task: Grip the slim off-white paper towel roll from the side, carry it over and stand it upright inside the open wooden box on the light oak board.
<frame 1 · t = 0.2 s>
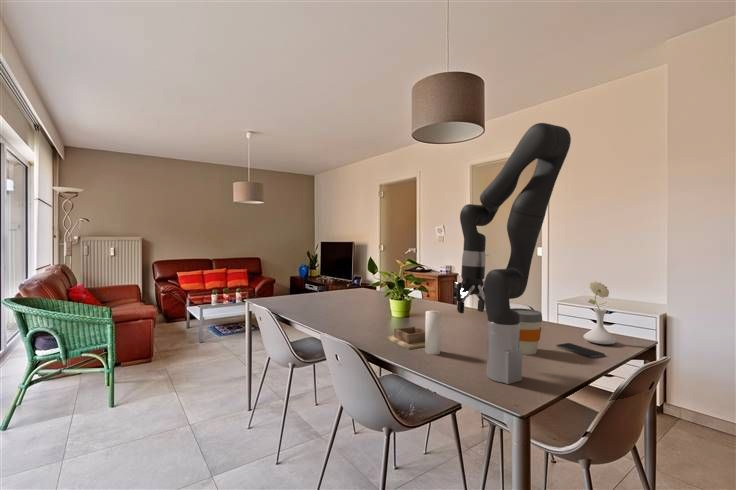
hand: (470, 312, 122), 18 cm above the table, tool pointing down, fingers open, 8 cm apart
reusable coffee cup: (523, 351, 137), on the table
open wooden box: (411, 341, 148), on the table
flower in vase: (598, 342, 150), on the table
phone: (579, 352, 137), on the table
paper towel roll: (432, 352, 134), on the table
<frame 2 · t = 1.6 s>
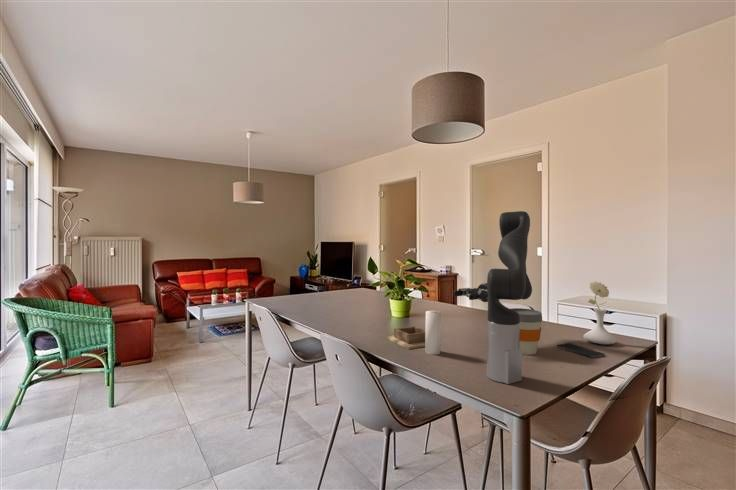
hand: (461, 295, 141), 20 cm above the table, tool horizontal, fingers open, 8 cm apart
nothing on the table moved.
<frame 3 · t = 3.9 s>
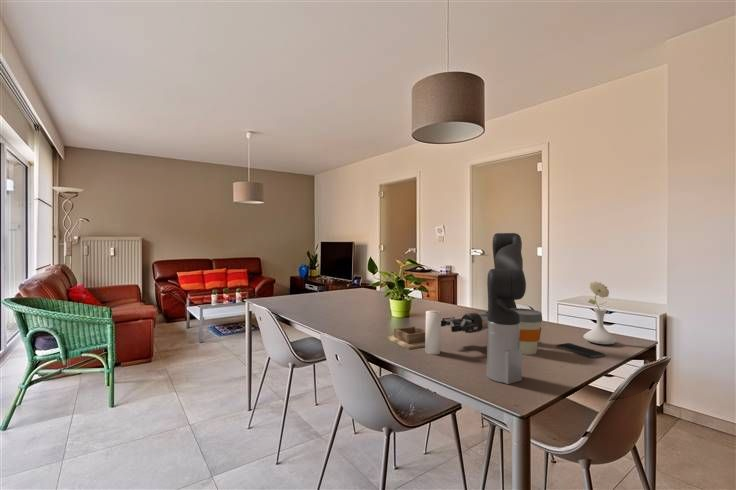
hand: (444, 326, 137), 9 cm above the table, tool horizontal, fingers open, 8 cm apart
nothing on the table moved.
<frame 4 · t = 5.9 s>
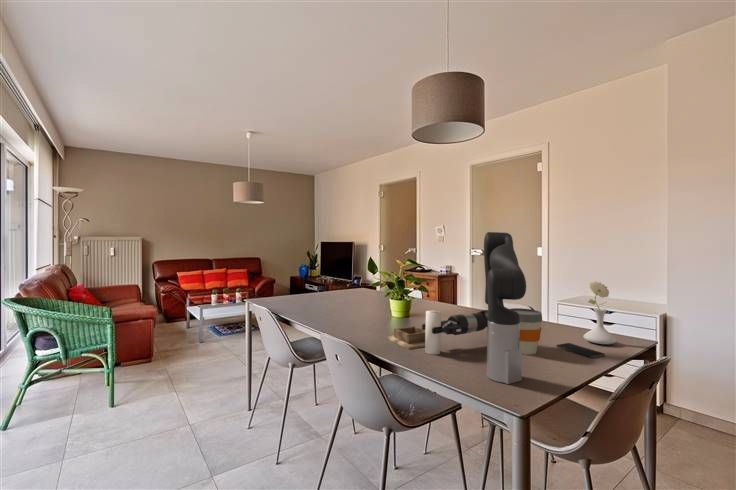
hand: (427, 328, 133), 9 cm above the table, tool horizontal, fingers closed on paper towel roll, 5 cm apart
paper towel roll: (432, 352, 134), on the table, touching gripper
everything else where it was.
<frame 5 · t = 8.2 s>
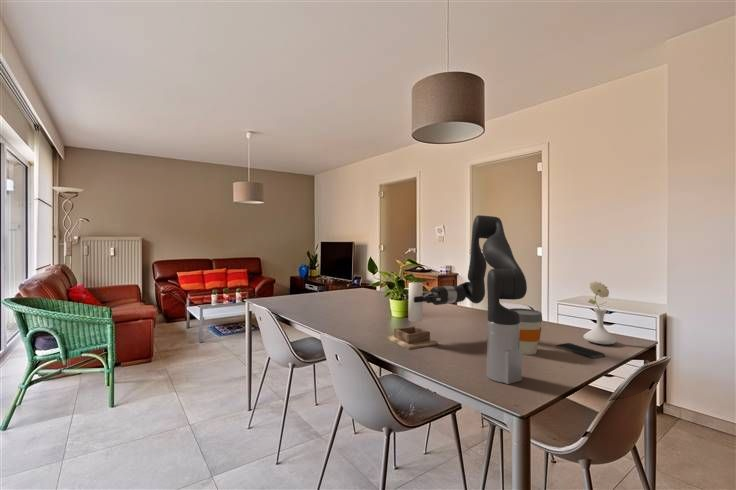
hand: (410, 298, 145), 18 cm above the table, tool horizontal, fingers closed on paper towel roll, 5 cm apart
paper towel roll: (415, 320, 147), point 9 cm above the table, touching gripper
everything else where it was.
when the fingers open (11 cm above the table, at t = 10.4 s): paper towel roll drops 1 cm, resting on open wooden box.
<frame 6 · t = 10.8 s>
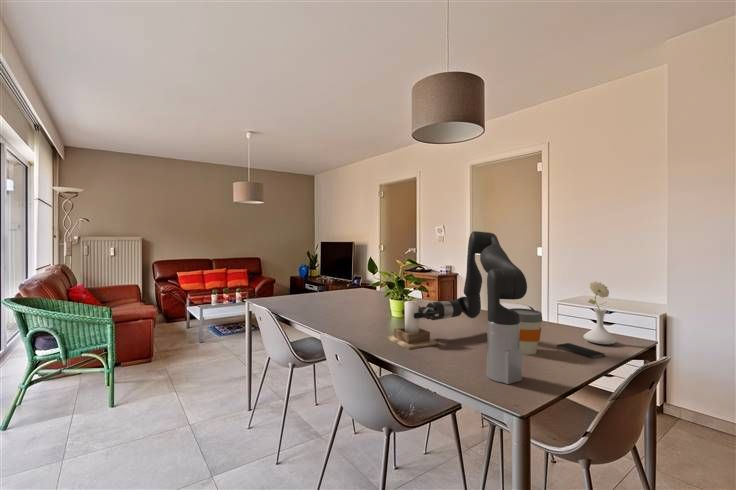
hand: (408, 313, 147), 11 cm above the table, tool horizontal, fingers open, 8 cm apart
paper towel roll: (412, 338, 148), point 1 cm above the table, touching open wooden box
everything else where it was.
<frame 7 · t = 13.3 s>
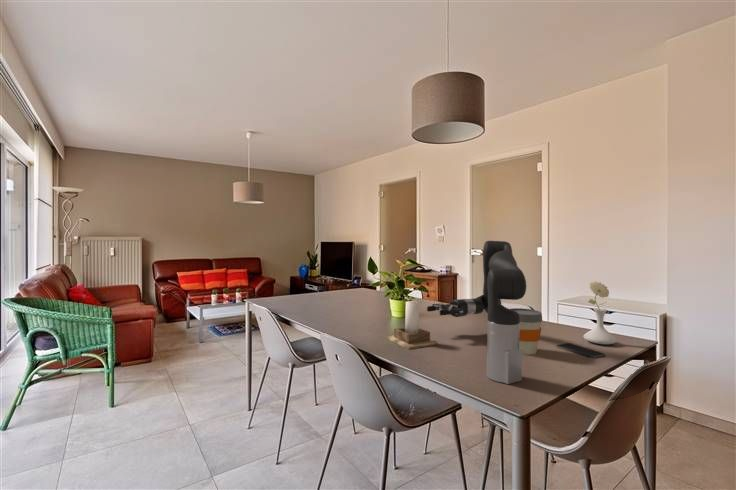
hand: (433, 310, 153), 12 cm above the table, tool horizontal, fingers open, 8 cm apart
nothing on the table moved.
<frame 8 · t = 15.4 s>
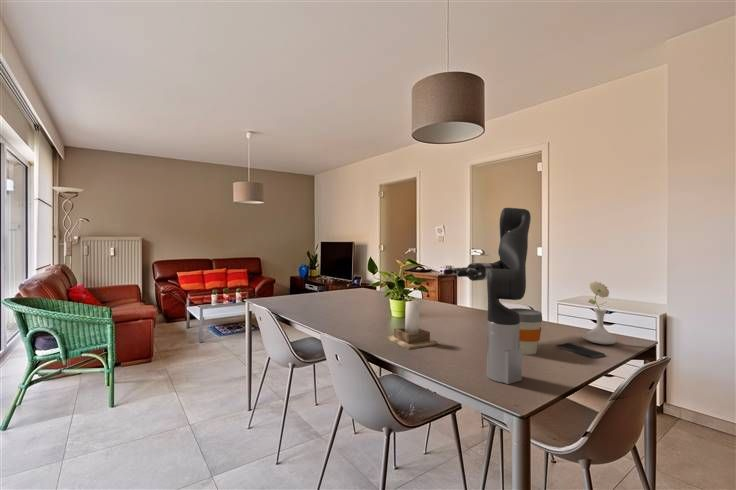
hand: (451, 273, 149), 28 cm above the table, tool horizontal, fingers open, 8 cm apart
nothing on the table moved.
at the end: paper towel roll 0.1 cm off-centre on the open wooden box, point 1.0 cm above the open wooden box's base; paper towel roll tilted 0°; the gripper is holding nothing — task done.
